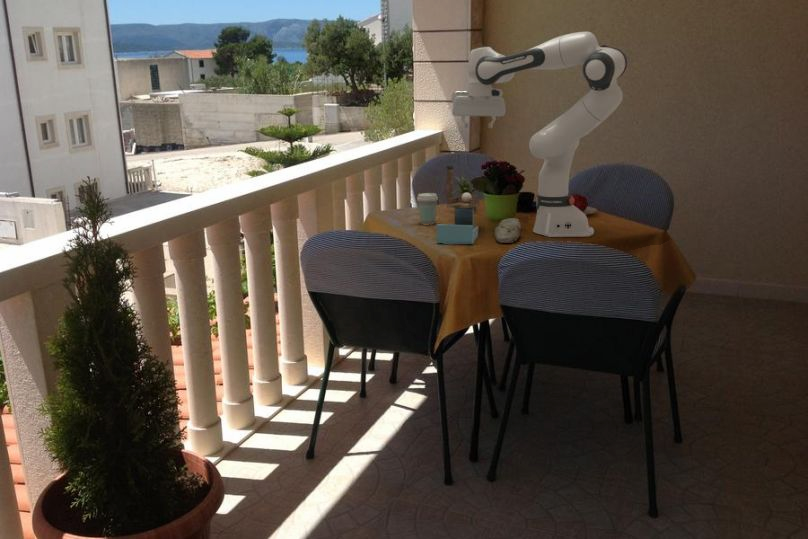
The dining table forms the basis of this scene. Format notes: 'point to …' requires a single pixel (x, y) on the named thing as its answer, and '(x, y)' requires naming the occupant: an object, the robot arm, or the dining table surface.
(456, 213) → the fulcrum stand
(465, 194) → the cream ball
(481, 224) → the dining table surface
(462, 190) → the house plant
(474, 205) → the walnut chute
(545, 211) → the robot arm
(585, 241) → the dining table surface
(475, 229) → the light blue box
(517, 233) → the elongated rock
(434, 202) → the coffee cup
